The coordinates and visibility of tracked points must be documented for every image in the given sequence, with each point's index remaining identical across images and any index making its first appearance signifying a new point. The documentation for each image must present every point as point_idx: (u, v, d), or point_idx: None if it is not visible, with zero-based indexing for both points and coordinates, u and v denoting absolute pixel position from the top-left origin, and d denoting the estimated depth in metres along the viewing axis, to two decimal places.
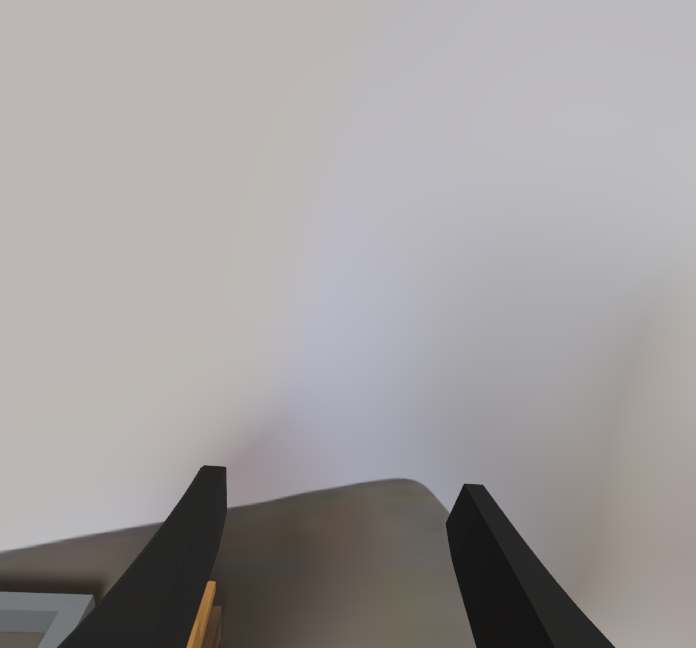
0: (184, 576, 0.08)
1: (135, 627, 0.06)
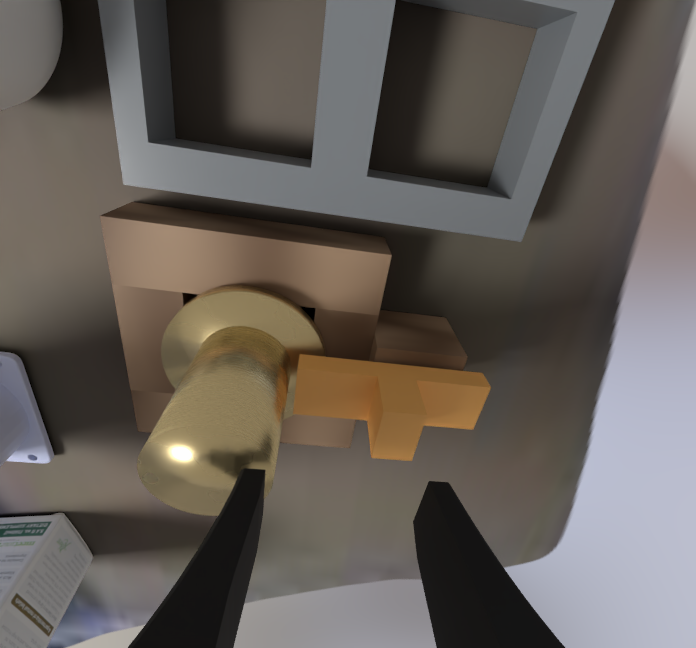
0: (236, 578, 0.08)
1: (200, 629, 0.07)
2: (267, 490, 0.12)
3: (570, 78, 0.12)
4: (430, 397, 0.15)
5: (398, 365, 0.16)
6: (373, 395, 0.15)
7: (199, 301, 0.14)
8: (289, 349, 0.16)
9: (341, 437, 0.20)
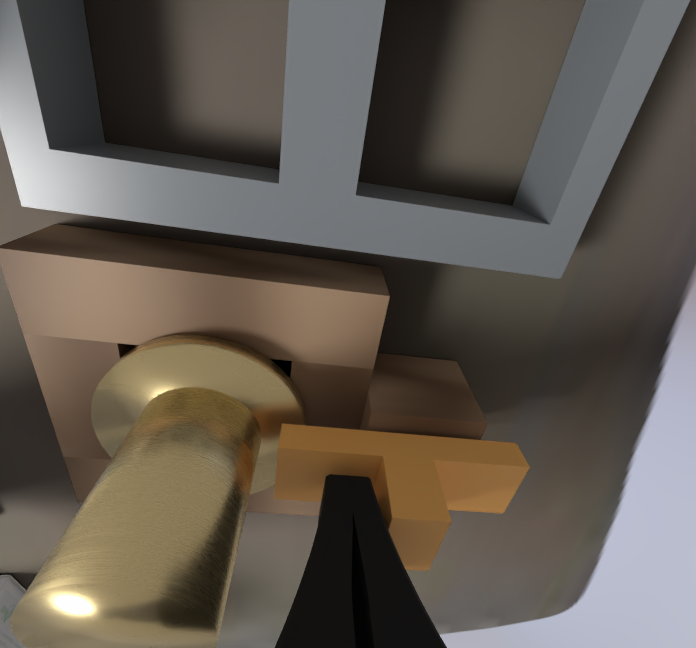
0: None
1: (336, 632, 0.07)
2: None
3: (643, 59, 0.08)
4: (451, 478, 0.12)
5: (409, 435, 0.12)
6: (377, 478, 0.12)
7: (135, 358, 0.11)
8: (258, 414, 0.12)
9: None
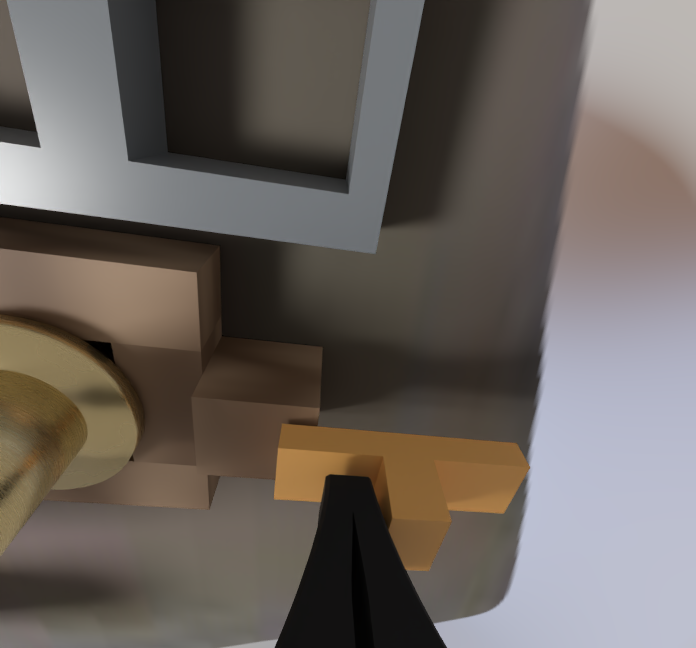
0: None
1: (336, 632, 0.07)
2: None
3: (401, 9, 0.08)
4: (451, 479, 0.12)
5: (409, 435, 0.12)
6: (377, 478, 0.12)
7: None
8: (74, 398, 0.12)
9: (194, 498, 0.15)
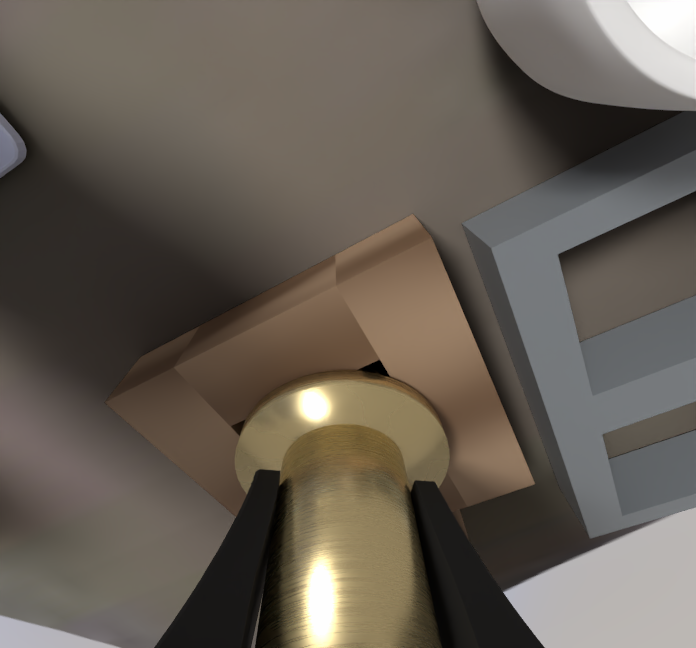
0: (256, 579, 0.08)
1: (224, 629, 0.07)
2: None
3: None
4: None
5: None
6: None
7: (402, 399, 0.11)
8: None
9: None
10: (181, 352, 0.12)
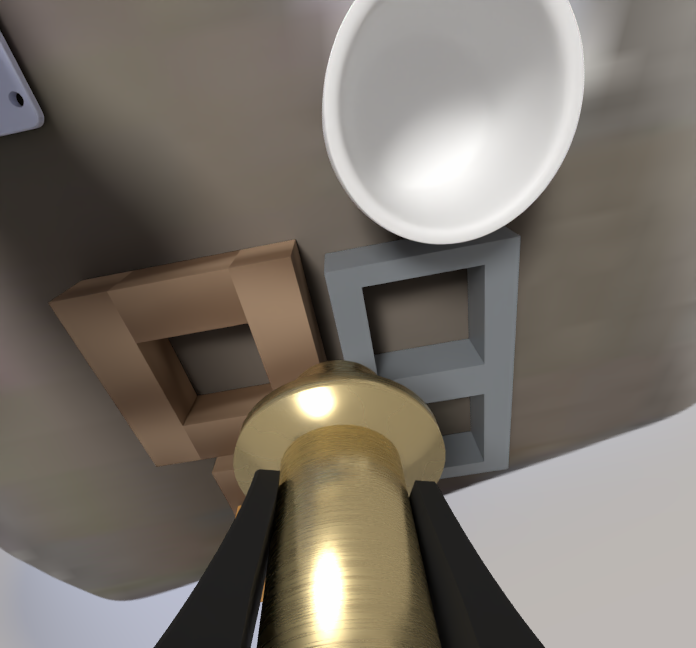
0: (256, 579, 0.08)
1: (224, 629, 0.07)
2: None
3: (458, 471, 0.23)
4: None
5: None
6: None
7: (402, 401, 0.11)
8: None
9: (164, 458, 0.21)
10: (114, 284, 0.17)
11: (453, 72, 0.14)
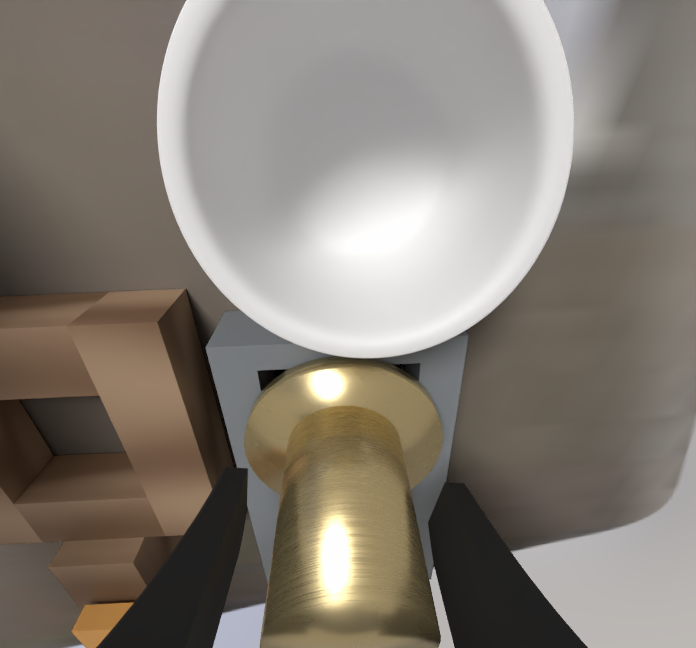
0: (213, 577, 0.08)
1: (171, 628, 0.06)
2: None
3: None
4: None
5: None
6: None
7: (402, 383, 0.12)
8: None
9: None
10: None
11: (404, 111, 0.10)
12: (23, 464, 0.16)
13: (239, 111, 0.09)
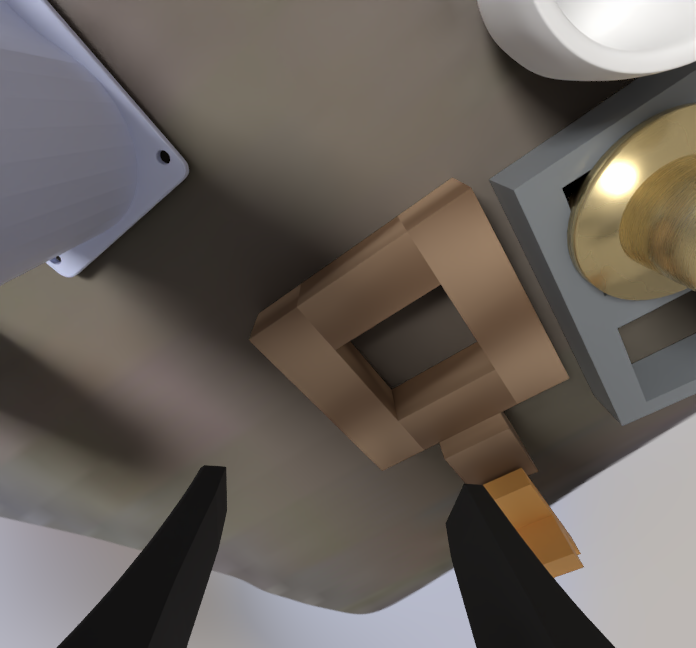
0: (184, 576, 0.08)
1: (135, 627, 0.06)
2: None
3: None
4: None
5: None
6: (537, 522, 0.20)
7: None
8: None
9: (387, 459, 0.21)
10: (296, 299, 0.16)
11: None
12: (385, 394, 0.20)
13: None
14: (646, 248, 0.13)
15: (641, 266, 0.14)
